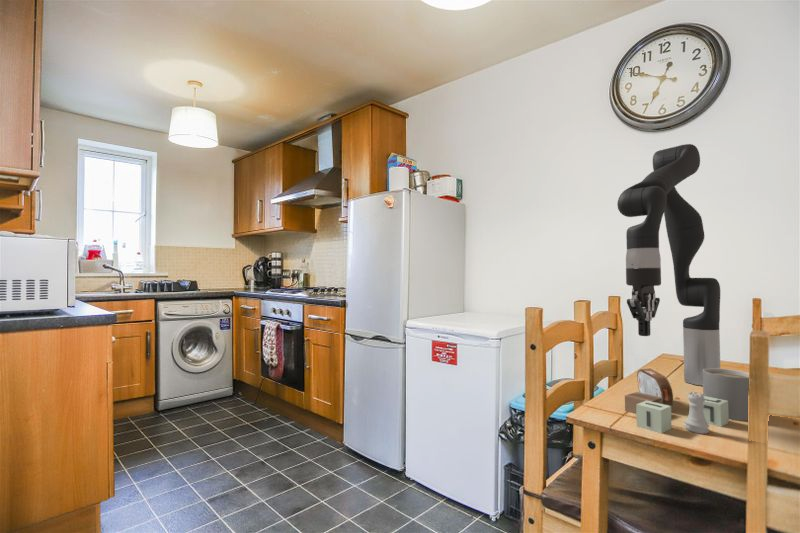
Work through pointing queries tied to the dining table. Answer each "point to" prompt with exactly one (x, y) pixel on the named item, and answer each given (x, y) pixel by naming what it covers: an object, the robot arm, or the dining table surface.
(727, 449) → the dining table surface
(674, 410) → the dining table surface
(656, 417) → the numbered block one
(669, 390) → the tin
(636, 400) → the walnut block
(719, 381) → the coffee mug
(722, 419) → the numbered block seven
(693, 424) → the rook chess piece
